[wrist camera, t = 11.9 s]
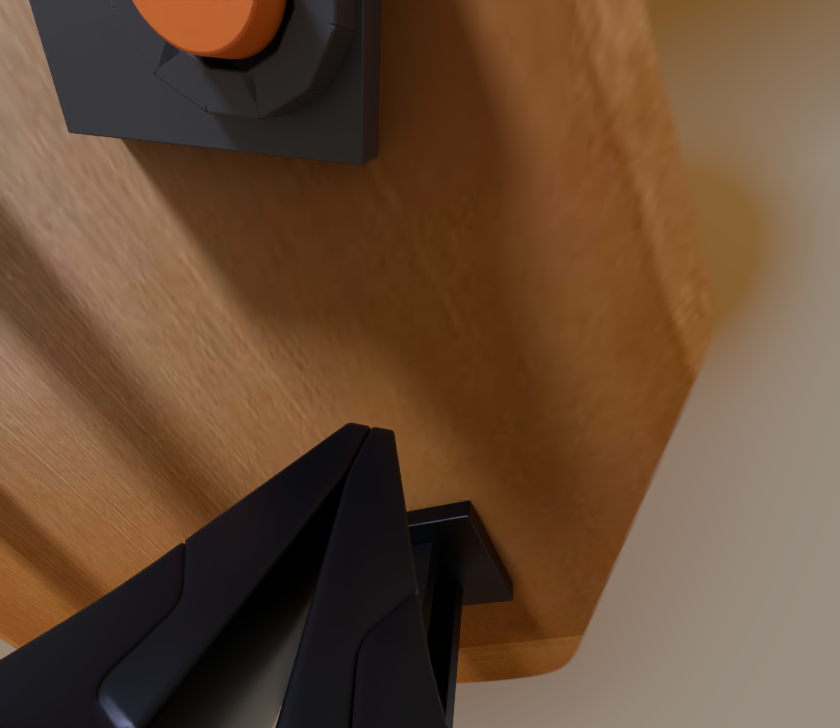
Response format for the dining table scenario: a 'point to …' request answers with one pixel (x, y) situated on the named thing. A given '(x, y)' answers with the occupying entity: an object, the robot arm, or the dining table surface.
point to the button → (215, 25)
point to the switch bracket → (452, 582)
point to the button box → (221, 81)
